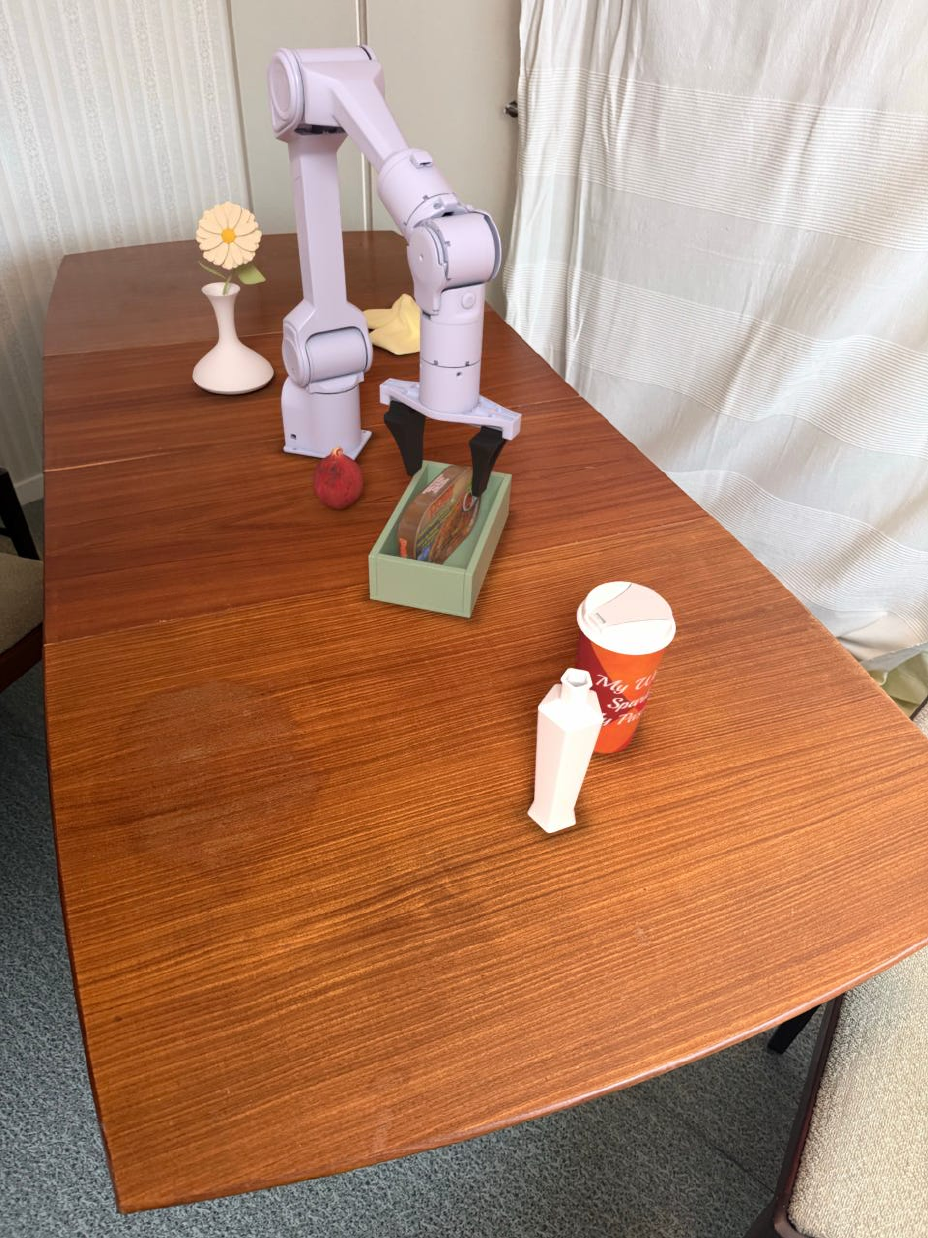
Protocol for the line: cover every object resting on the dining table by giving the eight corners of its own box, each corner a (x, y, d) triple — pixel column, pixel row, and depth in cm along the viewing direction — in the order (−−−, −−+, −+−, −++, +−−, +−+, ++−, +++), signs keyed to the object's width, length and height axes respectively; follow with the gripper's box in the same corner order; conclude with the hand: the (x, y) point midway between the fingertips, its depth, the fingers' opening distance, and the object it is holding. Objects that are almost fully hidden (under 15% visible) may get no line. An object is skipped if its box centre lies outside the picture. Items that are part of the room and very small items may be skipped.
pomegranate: (356, 526, 95) (353, 464, 90) (308, 518, 96) (302, 457, 91) (370, 499, 99) (368, 439, 94) (324, 492, 100) (319, 432, 95)
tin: (417, 591, 86) (418, 523, 80) (391, 581, 87) (390, 514, 81) (483, 520, 96) (487, 456, 91) (459, 513, 97) (461, 448, 92)
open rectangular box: (369, 599, 85) (368, 556, 82) (422, 499, 100) (422, 459, 96) (469, 618, 84) (472, 575, 80) (508, 514, 98) (512, 474, 95)
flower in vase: (178, 392, 118) (140, 202, 102) (224, 362, 126) (196, 181, 110) (256, 411, 115) (231, 218, 99) (299, 379, 123) (282, 196, 107)
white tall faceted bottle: (519, 790, 68) (537, 656, 58) (571, 788, 68) (598, 654, 58) (526, 838, 64) (547, 704, 54) (582, 835, 65) (613, 702, 55)
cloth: (485, 347, 135) (487, 309, 131) (377, 362, 129) (375, 323, 125) (433, 299, 150) (434, 264, 146) (334, 311, 144) (332, 274, 140)
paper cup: (589, 775, 69) (617, 653, 60) (541, 713, 74) (560, 592, 65) (664, 744, 72) (701, 623, 63) (613, 687, 77) (640, 567, 68)
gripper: (539, 357, 77) (526, 483, 86) (404, 324, 82) (405, 446, 91) (507, 385, 72) (496, 516, 81) (366, 348, 77) (370, 475, 86)
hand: (446, 481), depth 86 cm, fingers open, 7 cm apart
